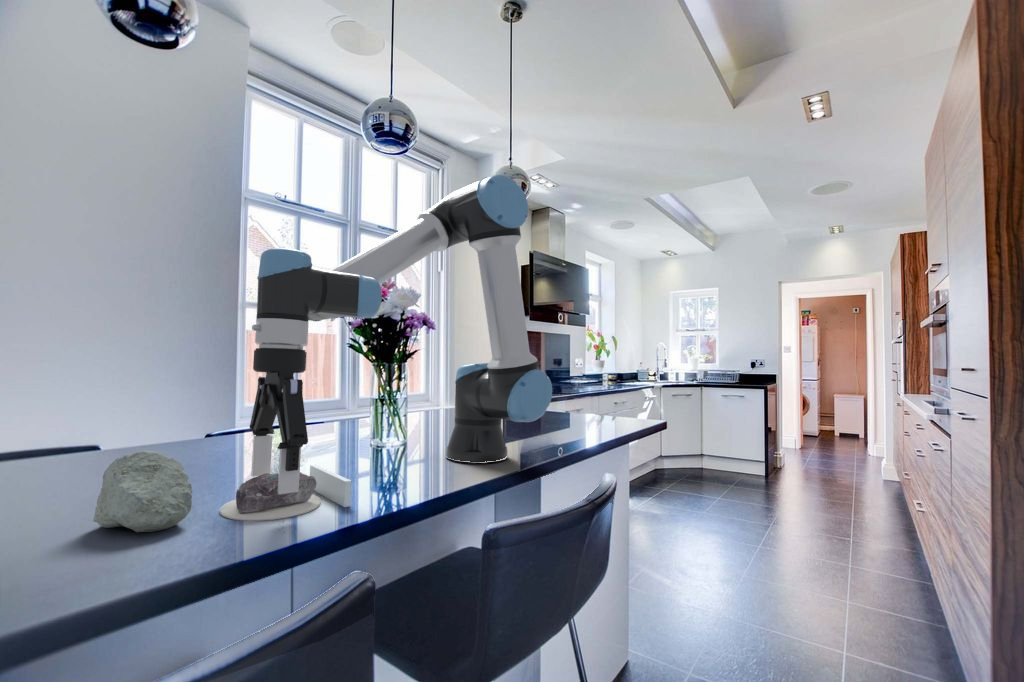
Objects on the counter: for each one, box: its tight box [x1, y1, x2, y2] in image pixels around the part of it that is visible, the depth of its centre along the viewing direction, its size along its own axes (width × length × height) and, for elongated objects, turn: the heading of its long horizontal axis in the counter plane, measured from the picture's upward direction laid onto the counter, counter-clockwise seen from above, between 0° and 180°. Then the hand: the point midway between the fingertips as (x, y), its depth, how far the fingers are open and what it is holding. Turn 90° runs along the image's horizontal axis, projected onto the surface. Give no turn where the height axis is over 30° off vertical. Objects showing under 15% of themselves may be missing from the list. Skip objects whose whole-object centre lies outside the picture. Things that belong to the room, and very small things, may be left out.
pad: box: [219, 494, 322, 522], centre depth 75 cm, size 14×14×1 cm
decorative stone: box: [93, 449, 193, 533], centre depth 65 cm, size 13×11×10 cm
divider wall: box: [309, 464, 352, 508], centre depth 81 cm, size 1×15×4 cm, turn 43°
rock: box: [235, 472, 316, 514], centre depth 75 cm, size 8×11×5 cm
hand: (273, 483), depth 75 cm, fingers open, 13 cm apart
